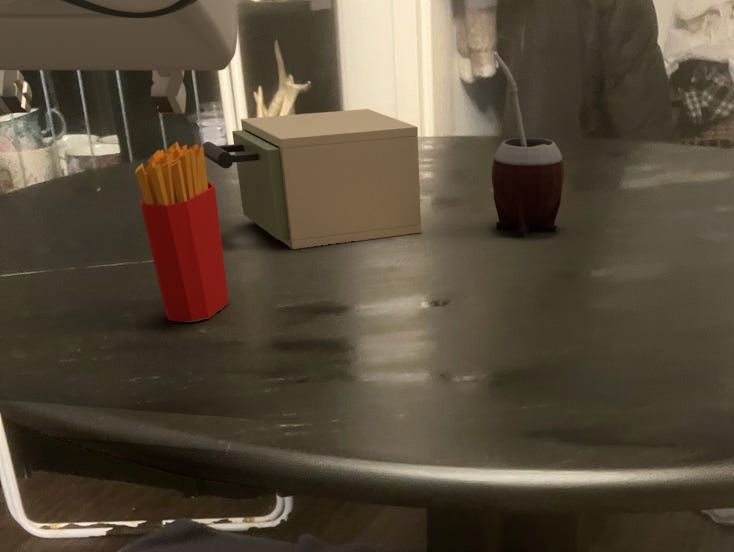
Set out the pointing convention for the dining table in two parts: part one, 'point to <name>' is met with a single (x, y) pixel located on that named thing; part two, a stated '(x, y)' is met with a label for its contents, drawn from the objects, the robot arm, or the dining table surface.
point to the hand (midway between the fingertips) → (96, 103)
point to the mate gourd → (526, 177)
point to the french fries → (183, 232)
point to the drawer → (256, 179)
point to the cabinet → (345, 175)
